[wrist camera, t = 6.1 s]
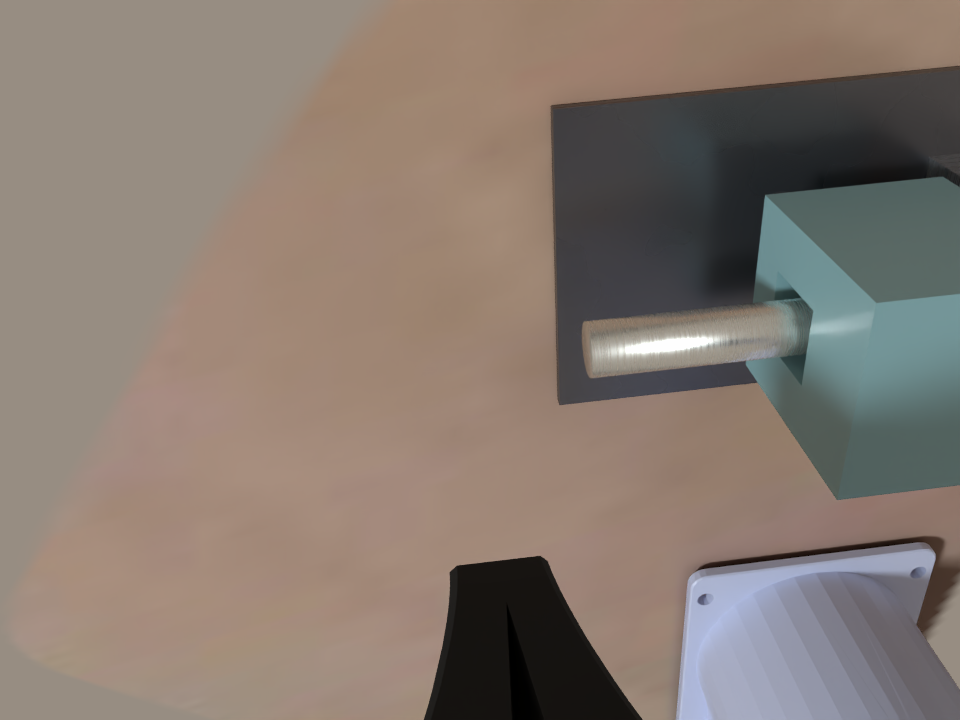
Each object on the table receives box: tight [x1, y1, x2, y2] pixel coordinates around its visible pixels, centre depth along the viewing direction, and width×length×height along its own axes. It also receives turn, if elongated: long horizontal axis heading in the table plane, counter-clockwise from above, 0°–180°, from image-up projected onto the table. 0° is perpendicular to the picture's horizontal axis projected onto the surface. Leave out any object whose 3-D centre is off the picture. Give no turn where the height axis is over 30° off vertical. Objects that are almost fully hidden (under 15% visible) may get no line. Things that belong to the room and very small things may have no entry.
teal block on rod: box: [746, 177, 960, 500], centre depth 18 cm, size 4×4×5 cm
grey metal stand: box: [551, 66, 960, 405], centre depth 20 cm, size 8×11×6 cm
